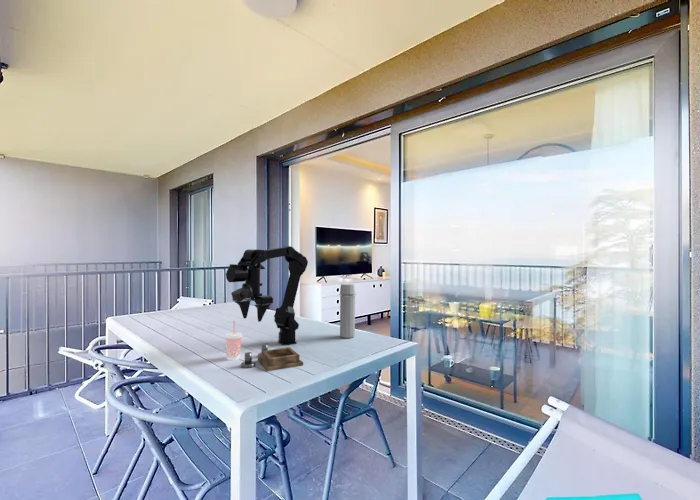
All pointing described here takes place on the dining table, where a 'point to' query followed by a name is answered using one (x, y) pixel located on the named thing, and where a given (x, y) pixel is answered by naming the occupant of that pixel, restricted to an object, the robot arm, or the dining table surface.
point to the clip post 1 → (248, 361)
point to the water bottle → (347, 310)
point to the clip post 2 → (263, 348)
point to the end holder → (279, 359)
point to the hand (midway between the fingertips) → (252, 319)
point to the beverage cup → (233, 344)
